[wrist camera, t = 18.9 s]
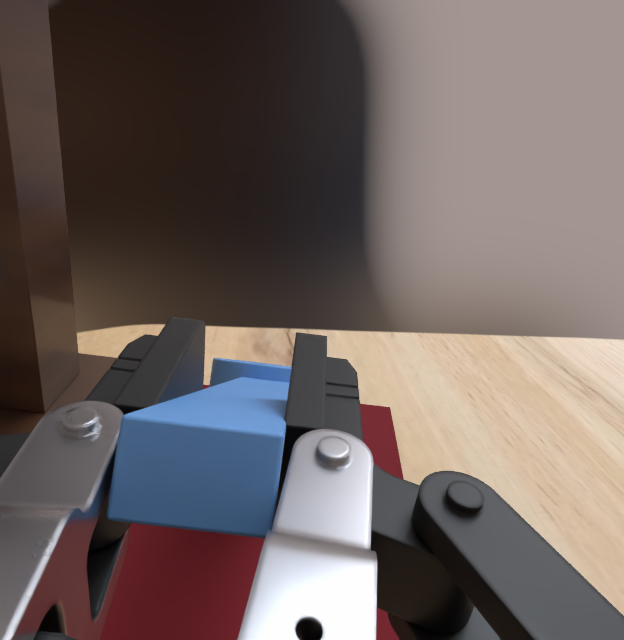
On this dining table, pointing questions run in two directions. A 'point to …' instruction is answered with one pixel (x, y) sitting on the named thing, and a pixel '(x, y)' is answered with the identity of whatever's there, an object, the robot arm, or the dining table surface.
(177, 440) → the blue disc paddle
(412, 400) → the dining table surface
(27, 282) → the stand
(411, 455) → the dining table surface
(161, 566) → the cloth
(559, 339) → the dining table surface
